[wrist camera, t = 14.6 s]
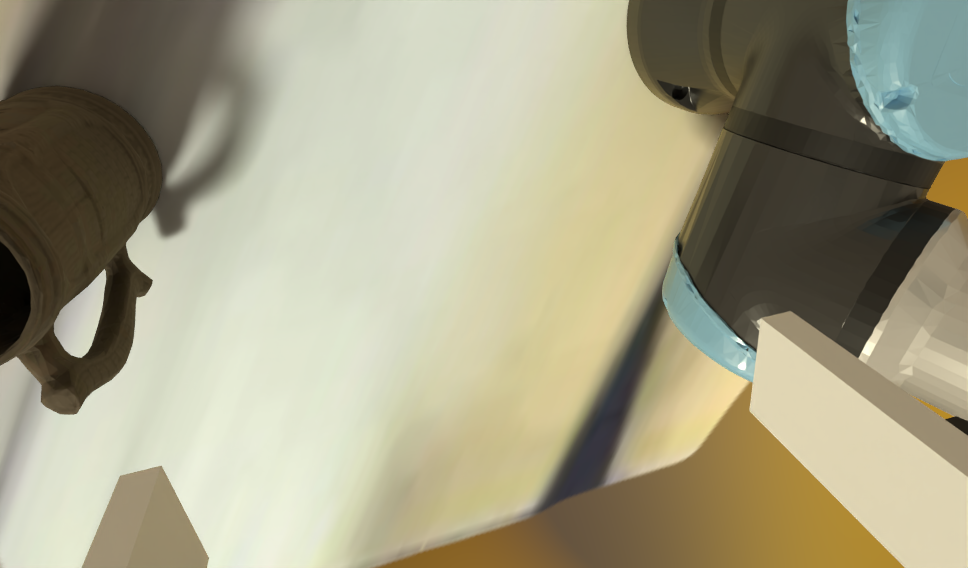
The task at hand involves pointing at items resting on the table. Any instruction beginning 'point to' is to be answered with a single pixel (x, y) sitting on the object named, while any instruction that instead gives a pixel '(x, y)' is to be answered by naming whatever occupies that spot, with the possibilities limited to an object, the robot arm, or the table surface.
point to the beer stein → (70, 232)
